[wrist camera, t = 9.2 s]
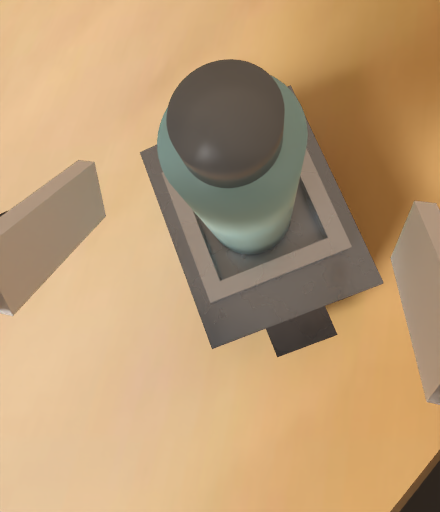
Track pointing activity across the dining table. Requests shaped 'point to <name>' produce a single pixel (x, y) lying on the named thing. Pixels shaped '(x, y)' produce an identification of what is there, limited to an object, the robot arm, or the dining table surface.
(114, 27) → the dining table surface
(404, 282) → the robot arm
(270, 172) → the teal bottle
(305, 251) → the square hollow holder
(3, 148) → the dining table surface
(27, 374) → the dining table surface
